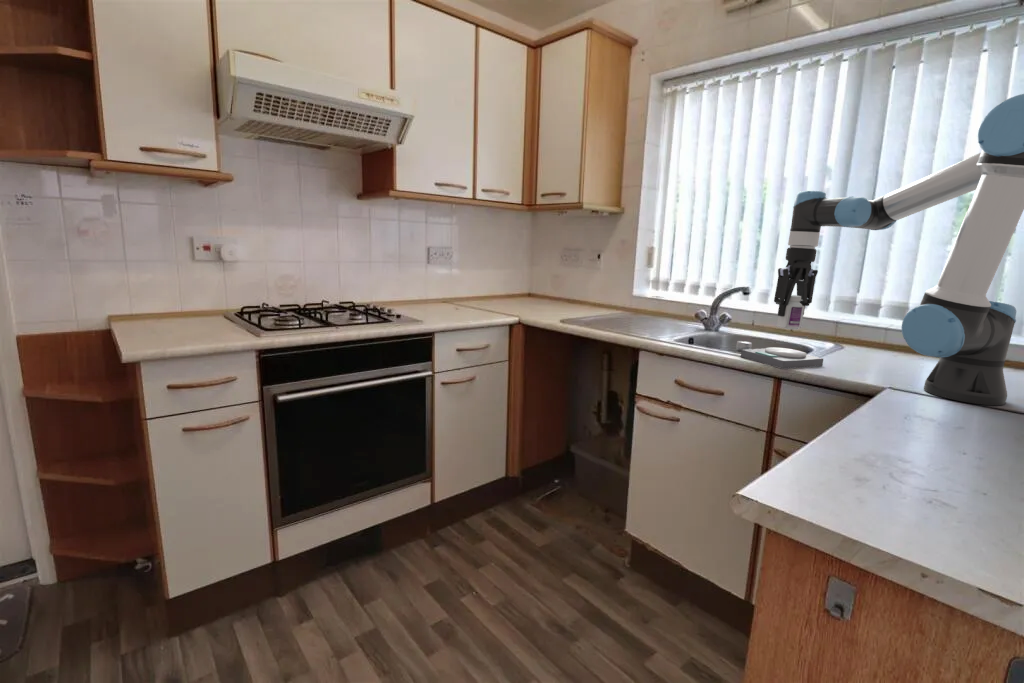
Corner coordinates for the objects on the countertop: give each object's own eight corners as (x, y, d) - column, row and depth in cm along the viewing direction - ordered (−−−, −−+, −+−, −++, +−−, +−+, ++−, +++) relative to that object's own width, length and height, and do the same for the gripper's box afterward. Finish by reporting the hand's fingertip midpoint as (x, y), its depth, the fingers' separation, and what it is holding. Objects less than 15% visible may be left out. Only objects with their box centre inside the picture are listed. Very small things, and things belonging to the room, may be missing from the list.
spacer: (743, 349, 170) (744, 340, 170) (753, 352, 167) (755, 343, 166) (732, 350, 169) (734, 341, 168) (743, 353, 165) (744, 344, 164)
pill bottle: (799, 328, 155) (805, 295, 153) (797, 330, 150) (803, 297, 148) (779, 325, 158) (784, 293, 156) (777, 327, 153) (782, 295, 151)
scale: (778, 354, 165) (779, 345, 164) (822, 366, 151) (823, 356, 151) (740, 356, 159) (741, 347, 158) (782, 368, 145) (784, 358, 145)
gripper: (812, 248, 156) (799, 324, 161) (767, 245, 149) (755, 325, 154) (836, 249, 149) (821, 329, 154) (790, 246, 142) (777, 330, 147)
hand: (788, 327), depth 154 cm, fingers closed on pill bottle, 5 cm apart
